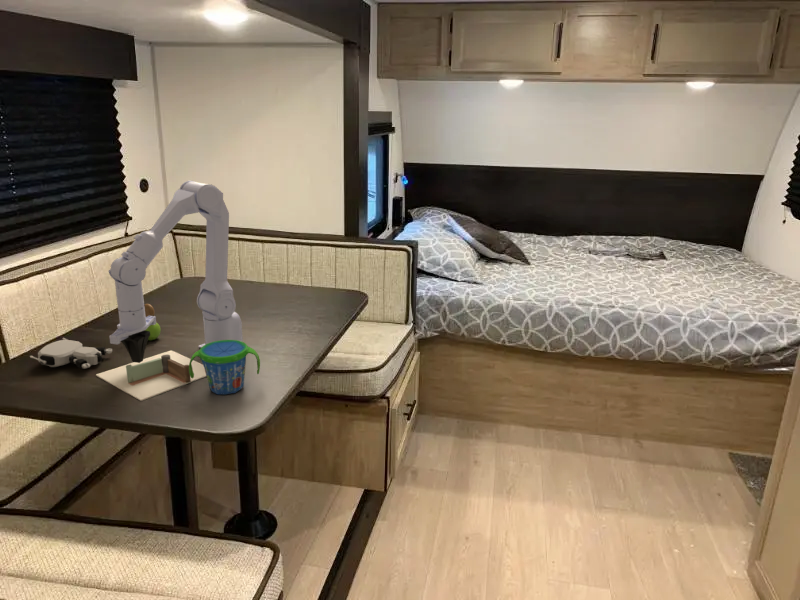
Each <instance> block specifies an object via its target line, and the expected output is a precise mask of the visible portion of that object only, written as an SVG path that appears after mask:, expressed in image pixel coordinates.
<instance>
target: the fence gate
mask: <svg viewBox="0 0 800 600" xmlns="http://www.w3.org/2000/svg"><path fill="white" fill-rule="evenodd" d="M126 365H127V364H126ZM126 371H127V379H128V383H132V382H134V381H137V380H140V379H143V378H146V377H150V376H153V375H156V374H159V373H162V372H163V368H162V359H161V358H158V359H155V360H151V361H148V362H145V363H141V364H138V365H134V366H132V365H127V366H126Z"/></svg>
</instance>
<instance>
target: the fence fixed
mask: <svg viewBox="0 0 800 600" xmlns="http://www.w3.org/2000/svg"><path fill="white" fill-rule="evenodd" d="M161 359H162V368H163V372H164V373H168V372H169V373H170V374H172V375H174V376H176V377H178V378H180V379H182V380H184V381H185V382H186V383H188V382H191V380H190V373H189V365H182V364H180V363H178V362H176V361H174V360H172V359H170V355H162V356H161ZM191 383H192V382H191ZM188 384H189V383H188Z"/></svg>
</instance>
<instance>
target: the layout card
mask: <svg viewBox="0 0 800 600" xmlns="http://www.w3.org/2000/svg"><path fill="white" fill-rule="evenodd" d="M162 355H170V359H172V360H174V361H176V362H178V363H180V364H182V365H189V363H190V360H191V358H189V357H188V356H186V355H185V356H184V355H182V354H180V353H179V352H177V351H174V350H168V351H165V352H161V353H158V354H155V355H153V356H149V357H146V358H143V361H142V362H140V363H137V362H130V363H128V364H124V365H120V366H119V367H116V368H112V369H109V370H106V371H102V372H100V373H96V374H95V376H96V377H97V378H99V379H101V380H103V381H105V382H107V383H108V384H110V385H112V386H113V387H115V388H117V389H119V390H120V391H122V392H124V393H126V394H128V395H130V396H131V397H133V398H135V399H137V400H139V401H140V402H143V401H145V400H148V399H150V398H153V397H155V396H158V395H161V394H164V393H166V392H170V391H172V390H175V389H177V388H180V387H183V386H185V385H188V384H190V383H193V382H196V381H199V380H201V379H203V378H207V376H206V373H205V369H204V366H203V363H202V362H201V363H200V362H198V361H197V360H194V359H193V361H192V363H191V365H192V369H193V373H194V378H191V376H190V380H191V382H188V383H186V382H185V381H184V380H182V379H180V378H178V377H176V376H174V375H172V374H170V373H169V372H168V373H164V372H162V373H159V374H156V375H153V376H150V377H146V378H143V379H140V380H137V381H134V382H132V383H128V379H127V371H126V366H127V365H132V366H134V365H138V364H141V363H145V362H148V361H151V360H155V359H158V358H161V356H162Z"/></svg>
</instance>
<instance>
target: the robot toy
mask: <svg viewBox="0 0 800 600" xmlns="http://www.w3.org/2000/svg"><path fill="white" fill-rule="evenodd" d="M112 352H113V348H106V347H105V346H102V347H101V346H100V347H99V346H98V347H91V346H90V347H89V346H83V343H82V342H80V341H78V340H77V341H76V340H71V339H70V340H69V339H68V338H65V337H62V339H61V340H56V341H53V342H51V343H48V344H46V345H45V346H44V347H42V348H41V349H40V350H39V351H37V357H36V356H33V355H29V357H30V359H34V360H36V361H38V363H40V364H41V365H42V366H49V367H50V368H57V367H60V366H64V365H68V364H70V363H71V364H75V365H76V368H79V369H80V370H81V369H84V370H85V369H88V368H90V367H91V366H95V365H98V364H99V363H101V362H102V361H103V356H106V354H109V355H110V354H112Z"/></svg>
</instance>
